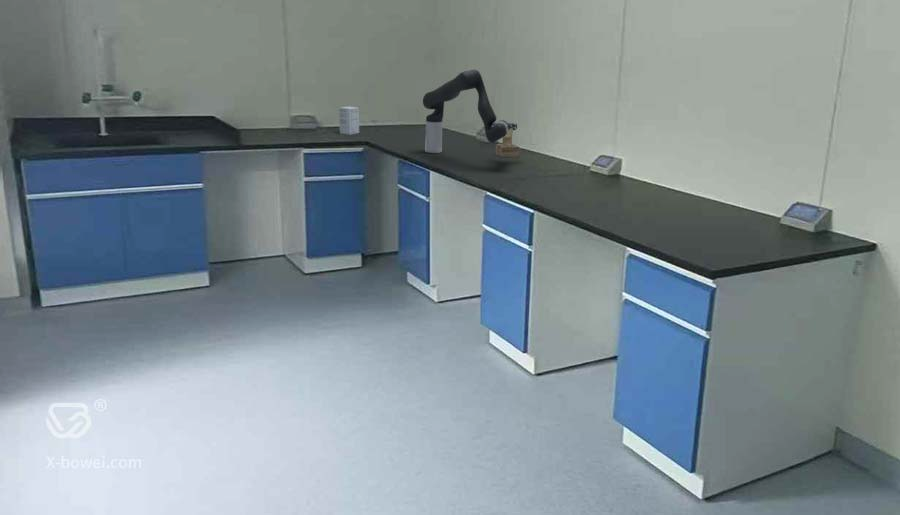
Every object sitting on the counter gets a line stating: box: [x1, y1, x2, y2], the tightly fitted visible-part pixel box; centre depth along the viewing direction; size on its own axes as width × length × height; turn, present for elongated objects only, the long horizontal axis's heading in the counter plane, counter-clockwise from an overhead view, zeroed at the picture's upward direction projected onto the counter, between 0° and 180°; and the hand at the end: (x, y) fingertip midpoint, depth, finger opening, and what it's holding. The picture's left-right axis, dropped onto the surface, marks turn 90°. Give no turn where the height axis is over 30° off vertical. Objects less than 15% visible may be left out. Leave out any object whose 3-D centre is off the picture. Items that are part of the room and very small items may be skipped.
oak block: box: [502, 129, 514, 146], centre depth 412 cm, size 4×4×10 cm
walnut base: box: [495, 143, 520, 158], centre depth 414 cm, size 10×10×6 cm
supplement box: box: [338, 106, 360, 136], centre depth 482 cm, size 10×9×17 cm
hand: (505, 124), depth 399 cm, fingers open, 8 cm apart
